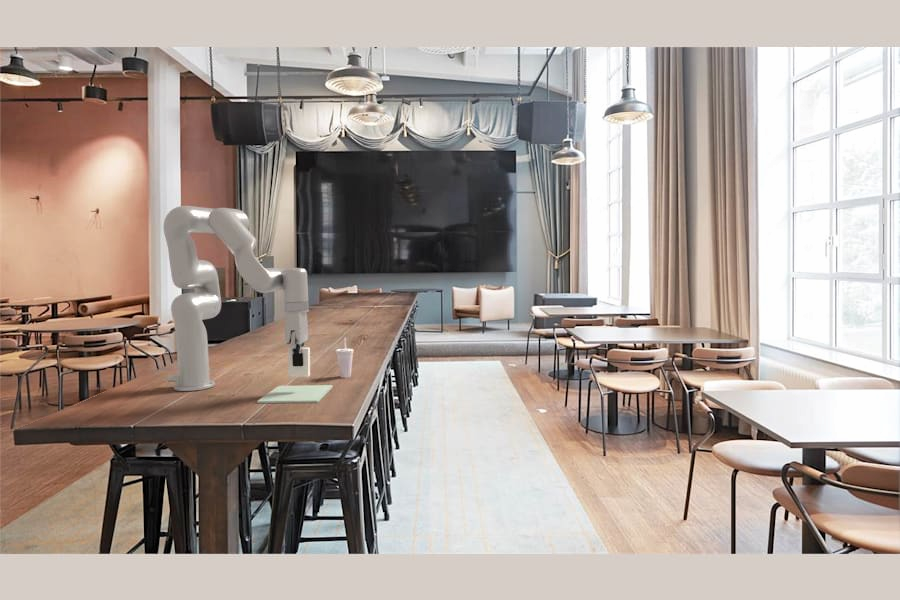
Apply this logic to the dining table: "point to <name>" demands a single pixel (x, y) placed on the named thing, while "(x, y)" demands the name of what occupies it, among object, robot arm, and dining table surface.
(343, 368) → the smoothie
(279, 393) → the mat
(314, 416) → the dining table surface
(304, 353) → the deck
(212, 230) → the robot arm
